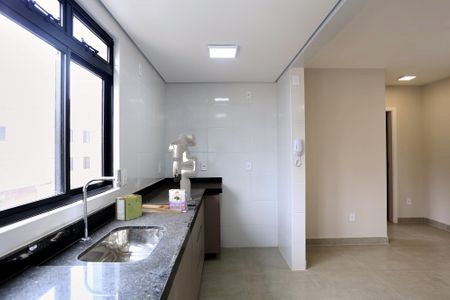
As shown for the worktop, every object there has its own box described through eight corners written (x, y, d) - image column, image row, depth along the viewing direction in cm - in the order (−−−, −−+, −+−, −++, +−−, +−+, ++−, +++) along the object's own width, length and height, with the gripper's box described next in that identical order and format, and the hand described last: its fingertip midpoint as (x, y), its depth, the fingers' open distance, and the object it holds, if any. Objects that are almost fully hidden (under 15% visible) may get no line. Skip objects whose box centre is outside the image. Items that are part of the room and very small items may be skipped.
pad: (171, 208, 213) (171, 208, 213) (188, 209, 211) (188, 208, 211) (166, 212, 202) (166, 211, 202) (185, 212, 201) (185, 212, 201)
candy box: (187, 209, 209) (187, 189, 209) (185, 211, 204) (185, 190, 203) (171, 208, 211) (171, 188, 211) (168, 210, 205) (168, 190, 205)
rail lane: (143, 207, 218) (143, 204, 218) (186, 208, 214) (186, 205, 214) (134, 211, 203) (134, 208, 203) (181, 213, 199) (181, 209, 199)
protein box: (142, 215, 192) (141, 195, 192) (126, 221, 178) (125, 199, 178) (131, 214, 197) (131, 194, 197) (115, 219, 183) (115, 197, 183)
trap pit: (162, 208, 214) (162, 204, 214) (170, 208, 213) (170, 205, 213) (157, 211, 203) (157, 208, 203) (165, 212, 202) (165, 208, 202)
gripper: (176, 159, 215) (176, 179, 216) (169, 160, 198) (169, 182, 198) (185, 159, 214) (185, 179, 215) (179, 160, 197) (179, 182, 198)
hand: (177, 180), depth 207 cm, fingers open, 9 cm apart
